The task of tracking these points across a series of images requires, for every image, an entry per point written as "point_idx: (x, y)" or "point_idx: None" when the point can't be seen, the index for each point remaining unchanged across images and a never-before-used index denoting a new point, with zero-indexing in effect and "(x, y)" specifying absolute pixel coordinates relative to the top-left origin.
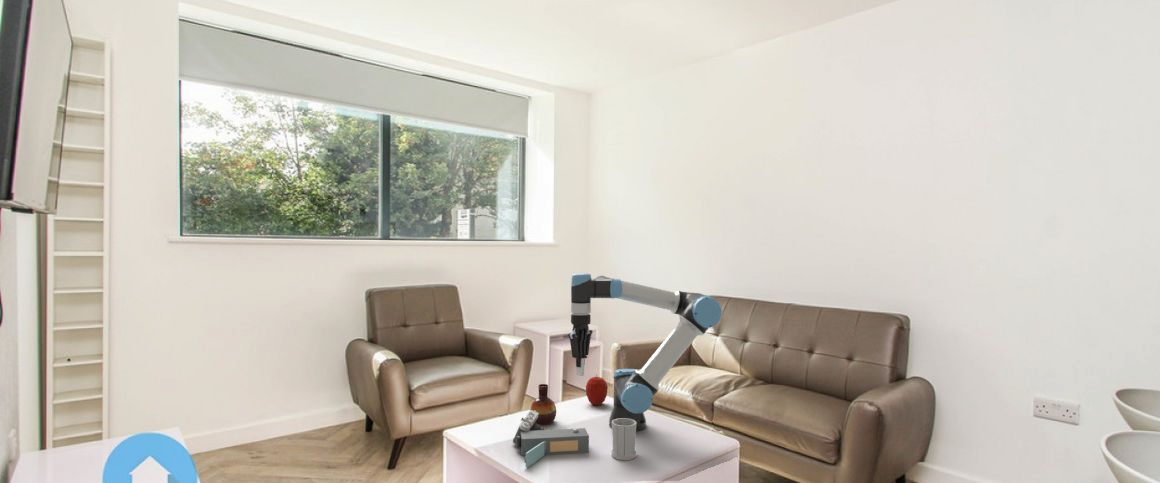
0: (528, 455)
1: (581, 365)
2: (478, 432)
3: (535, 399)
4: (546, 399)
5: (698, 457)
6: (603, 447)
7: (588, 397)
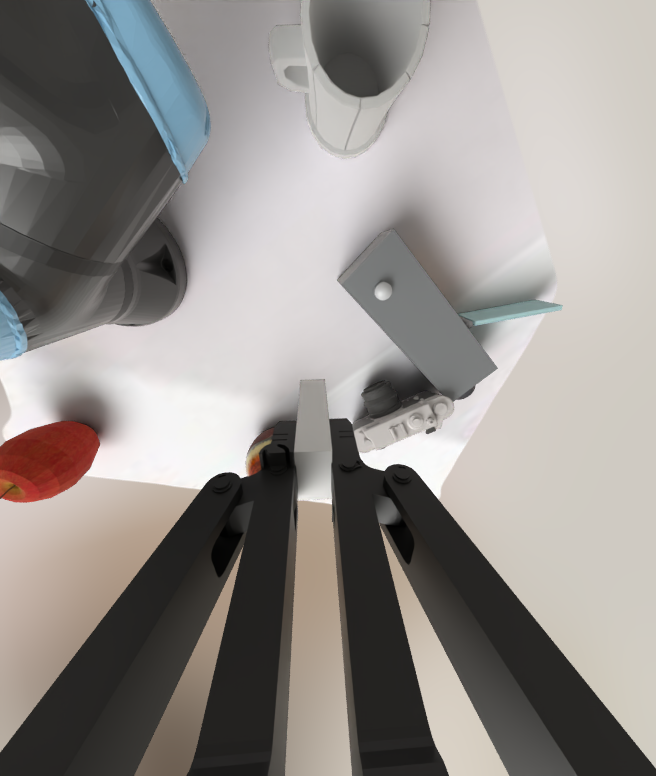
0: (550, 304)
1: (328, 420)
2: None
3: None
4: None
5: None
6: (325, 218)
7: (94, 455)
